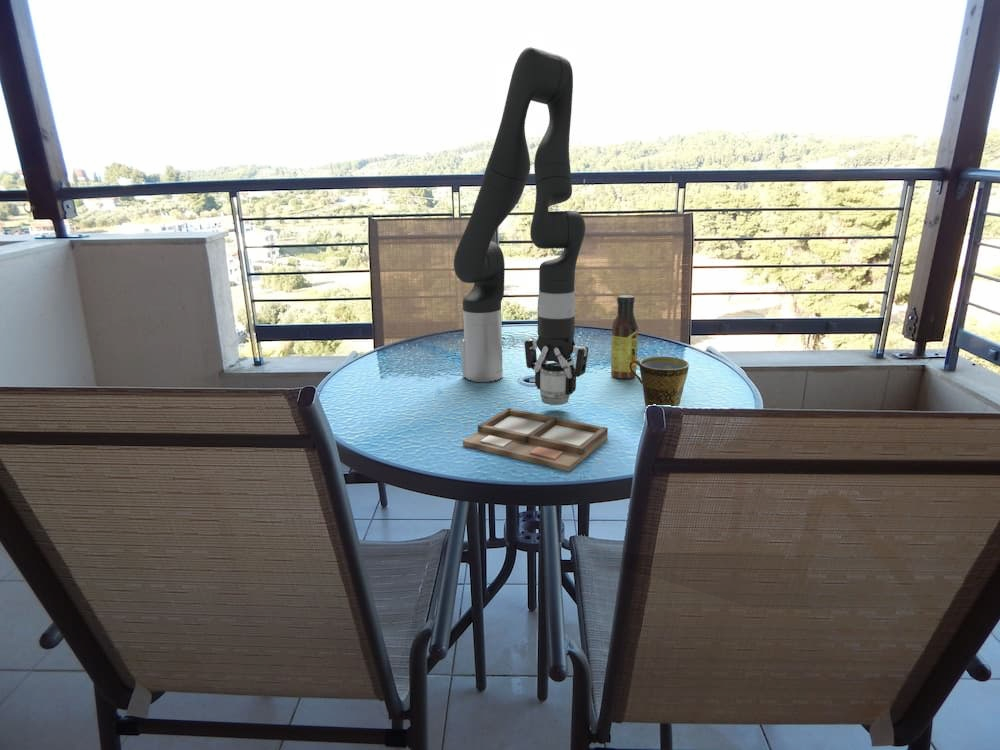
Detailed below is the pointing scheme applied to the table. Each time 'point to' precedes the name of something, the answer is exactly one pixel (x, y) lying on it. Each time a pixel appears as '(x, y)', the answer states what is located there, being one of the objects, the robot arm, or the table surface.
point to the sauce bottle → (624, 339)
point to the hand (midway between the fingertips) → (554, 390)
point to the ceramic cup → (662, 379)
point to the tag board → (537, 438)
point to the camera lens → (553, 384)
